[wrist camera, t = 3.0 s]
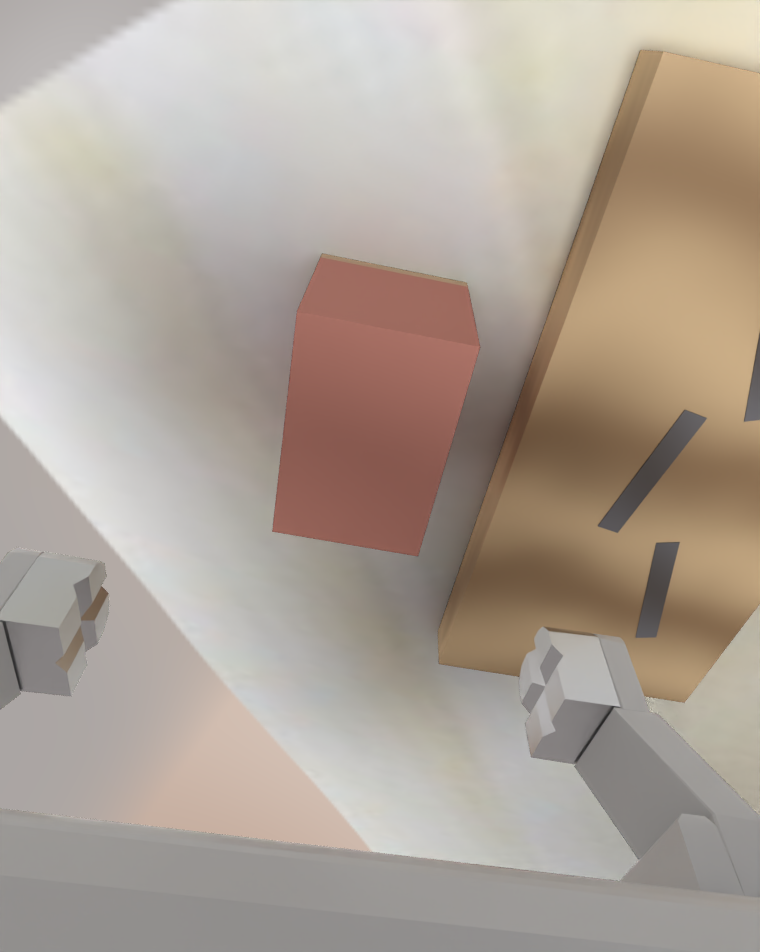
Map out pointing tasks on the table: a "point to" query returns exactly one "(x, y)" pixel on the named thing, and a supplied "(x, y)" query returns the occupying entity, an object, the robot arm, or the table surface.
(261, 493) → the table surface
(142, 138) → the table surface
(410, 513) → the block
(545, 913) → the robot arm
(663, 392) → the plank
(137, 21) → the table surface
